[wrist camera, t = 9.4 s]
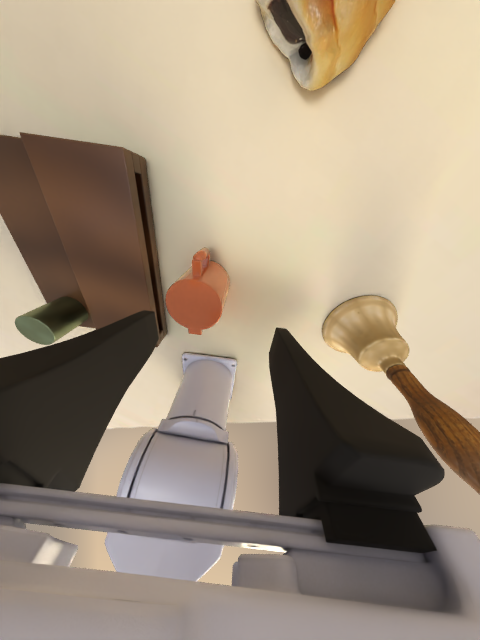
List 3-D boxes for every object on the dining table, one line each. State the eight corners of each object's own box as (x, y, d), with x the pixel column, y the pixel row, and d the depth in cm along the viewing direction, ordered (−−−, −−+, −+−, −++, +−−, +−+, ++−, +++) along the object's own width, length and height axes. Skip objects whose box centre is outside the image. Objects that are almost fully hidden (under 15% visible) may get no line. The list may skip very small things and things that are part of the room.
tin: (92, 323, 23) (60, 346, 19) (64, 320, 23) (26, 342, 19) (82, 298, 21) (44, 318, 17) (51, 294, 21) (6, 313, 17)
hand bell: (347, 360, 25) (459, 539, 11) (308, 328, 22) (392, 508, 9) (409, 323, 21) (683, 523, 8) (370, 280, 19) (675, 462, 5)
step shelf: (167, 332, 24) (157, 347, 22) (64, 319, 24) (41, 332, 21) (145, 157, 15) (122, 146, 12) (-28, 132, 14) (-88, 116, 12)
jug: (227, 308, 22) (220, 338, 16) (188, 302, 21) (168, 331, 16) (233, 247, 18) (225, 262, 13) (185, 240, 18) (159, 253, 13)
